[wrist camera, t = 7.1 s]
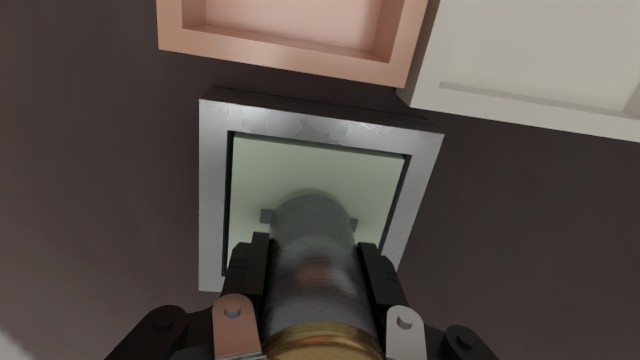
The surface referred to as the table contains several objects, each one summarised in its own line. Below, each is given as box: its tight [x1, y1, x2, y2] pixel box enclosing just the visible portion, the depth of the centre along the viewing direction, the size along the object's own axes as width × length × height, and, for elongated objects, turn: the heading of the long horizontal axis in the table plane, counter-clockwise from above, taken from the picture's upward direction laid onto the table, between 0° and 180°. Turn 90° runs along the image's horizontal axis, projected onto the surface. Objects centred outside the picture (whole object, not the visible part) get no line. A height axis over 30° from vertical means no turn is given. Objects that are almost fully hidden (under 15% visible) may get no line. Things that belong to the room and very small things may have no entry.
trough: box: [395, 0, 640, 142], centre depth 15 cm, size 13×9×2 cm
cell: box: [257, 195, 385, 360], centre depth 12 cm, size 4×4×10 cm
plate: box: [227, 131, 405, 268], centre depth 18 cm, size 8×8×2 cm
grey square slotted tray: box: [199, 86, 445, 292], centre depth 18 cm, size 11×11×2 cm
